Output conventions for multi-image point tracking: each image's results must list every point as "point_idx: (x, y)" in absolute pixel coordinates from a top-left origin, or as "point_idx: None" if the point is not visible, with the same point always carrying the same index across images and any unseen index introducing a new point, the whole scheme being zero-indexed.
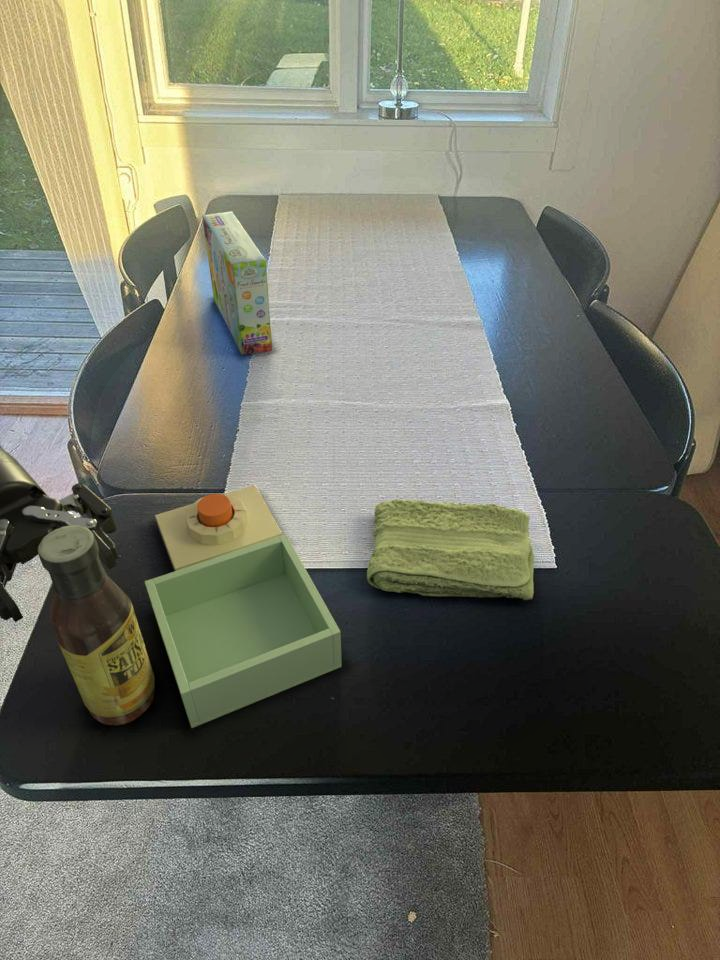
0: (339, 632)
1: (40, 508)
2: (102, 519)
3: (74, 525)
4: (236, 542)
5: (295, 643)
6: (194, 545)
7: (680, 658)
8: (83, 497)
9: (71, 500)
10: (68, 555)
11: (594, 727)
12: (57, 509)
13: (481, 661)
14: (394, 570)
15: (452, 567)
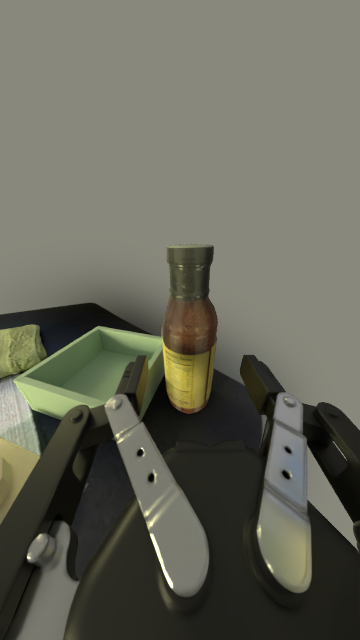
0: (98, 326)
1: (154, 518)
2: (93, 414)
3: (174, 246)
4: (3, 453)
5: (114, 330)
6: (15, 494)
7: (56, 309)
8: (40, 507)
9: (44, 589)
10: (193, 244)
11: (91, 311)
12: (113, 532)
13: (78, 328)
14: (35, 346)
15: (26, 335)
